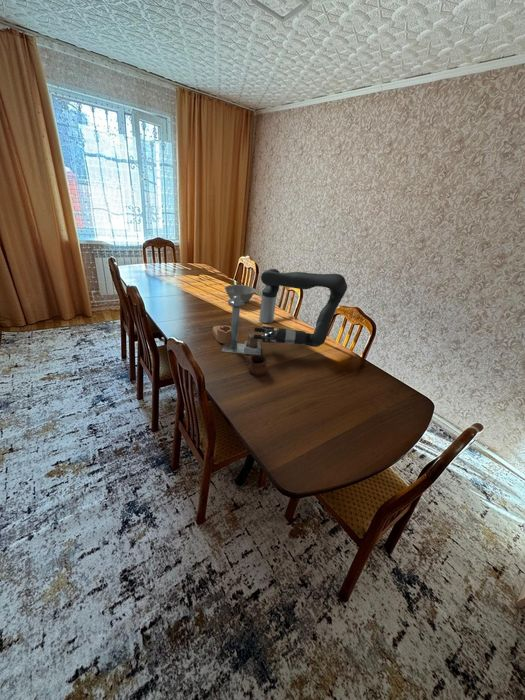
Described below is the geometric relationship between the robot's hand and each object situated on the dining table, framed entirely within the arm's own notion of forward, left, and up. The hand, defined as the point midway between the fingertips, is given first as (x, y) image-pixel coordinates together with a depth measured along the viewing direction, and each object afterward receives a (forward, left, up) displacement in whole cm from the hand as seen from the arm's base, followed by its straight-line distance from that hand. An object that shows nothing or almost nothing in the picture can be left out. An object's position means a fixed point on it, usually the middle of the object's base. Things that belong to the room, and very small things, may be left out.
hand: (254, 332), depth 145 cm
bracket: (-12, -18, -10) cm, 23 cm away
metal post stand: (0, -6, -10) cm, 11 cm away
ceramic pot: (+20, +3, -11) cm, 23 cm away
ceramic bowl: (-73, -13, -10) cm, 75 cm away
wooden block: (0, 0, -10) cm, 10 cm away
